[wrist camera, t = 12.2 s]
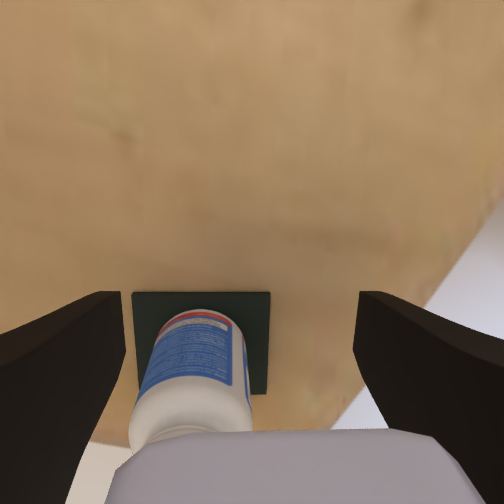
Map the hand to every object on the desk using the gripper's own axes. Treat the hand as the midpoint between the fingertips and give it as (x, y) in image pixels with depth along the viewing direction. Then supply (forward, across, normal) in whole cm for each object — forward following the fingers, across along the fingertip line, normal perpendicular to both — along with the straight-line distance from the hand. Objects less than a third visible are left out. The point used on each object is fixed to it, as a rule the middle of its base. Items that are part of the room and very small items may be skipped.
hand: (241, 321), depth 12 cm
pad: (+10, +2, +7) cm, 13 cm away
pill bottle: (+10, +2, +7) cm, 13 cm away
